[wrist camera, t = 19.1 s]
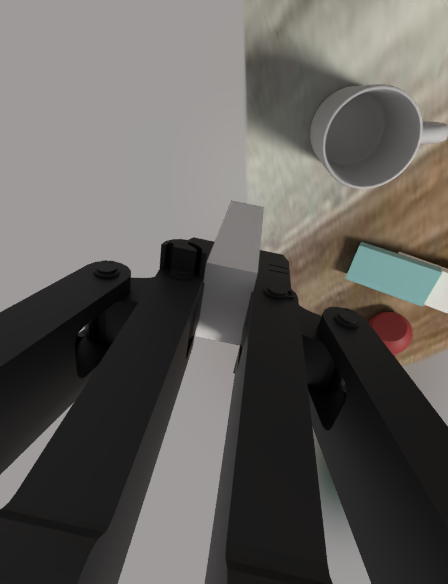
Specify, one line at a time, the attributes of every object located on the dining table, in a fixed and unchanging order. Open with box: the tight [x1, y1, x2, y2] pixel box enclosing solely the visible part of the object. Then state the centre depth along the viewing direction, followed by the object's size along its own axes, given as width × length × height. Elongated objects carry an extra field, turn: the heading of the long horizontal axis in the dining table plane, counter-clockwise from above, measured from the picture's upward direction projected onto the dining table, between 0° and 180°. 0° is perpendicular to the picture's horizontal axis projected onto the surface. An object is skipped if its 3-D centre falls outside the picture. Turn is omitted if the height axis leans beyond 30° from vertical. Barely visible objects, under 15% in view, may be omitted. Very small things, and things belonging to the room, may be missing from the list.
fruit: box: [369, 312, 413, 357], centre depth 49 cm, size 6×6×8 cm
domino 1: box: [345, 242, 442, 306], centre depth 44 cm, size 2×5×10 cm
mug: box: [310, 85, 448, 189], centre depth 34 cm, size 12×8×11 cm
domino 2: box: [398, 252, 448, 313], centre depth 45 cm, size 2×5×10 cm
